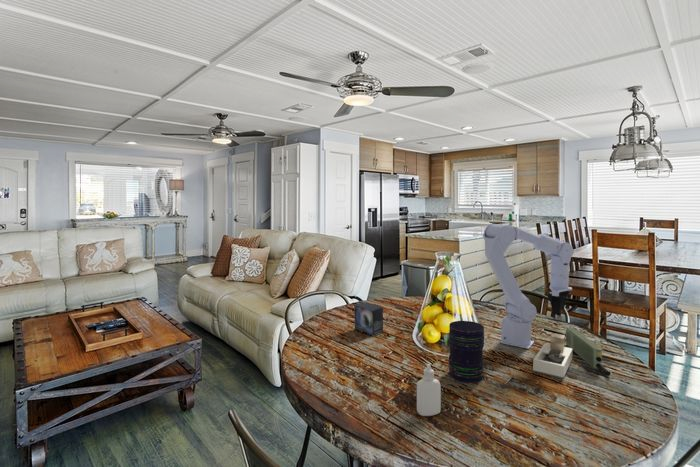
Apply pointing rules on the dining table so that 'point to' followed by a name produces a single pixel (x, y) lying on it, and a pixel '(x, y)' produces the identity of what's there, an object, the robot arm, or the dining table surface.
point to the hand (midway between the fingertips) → (558, 311)
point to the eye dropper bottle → (428, 394)
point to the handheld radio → (585, 349)
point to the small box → (368, 318)
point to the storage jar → (466, 351)
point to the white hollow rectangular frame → (552, 362)
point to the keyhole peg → (557, 347)
